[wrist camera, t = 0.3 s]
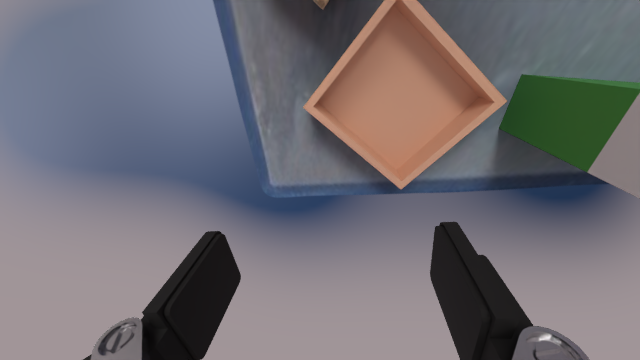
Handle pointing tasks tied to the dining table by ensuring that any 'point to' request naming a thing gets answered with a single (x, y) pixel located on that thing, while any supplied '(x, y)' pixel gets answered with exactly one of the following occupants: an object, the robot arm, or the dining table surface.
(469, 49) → the dining table surface
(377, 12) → the terracotta crate
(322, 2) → the pine crate
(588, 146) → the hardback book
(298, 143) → the dining table surface
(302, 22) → the dining table surface
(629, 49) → the dining table surface
